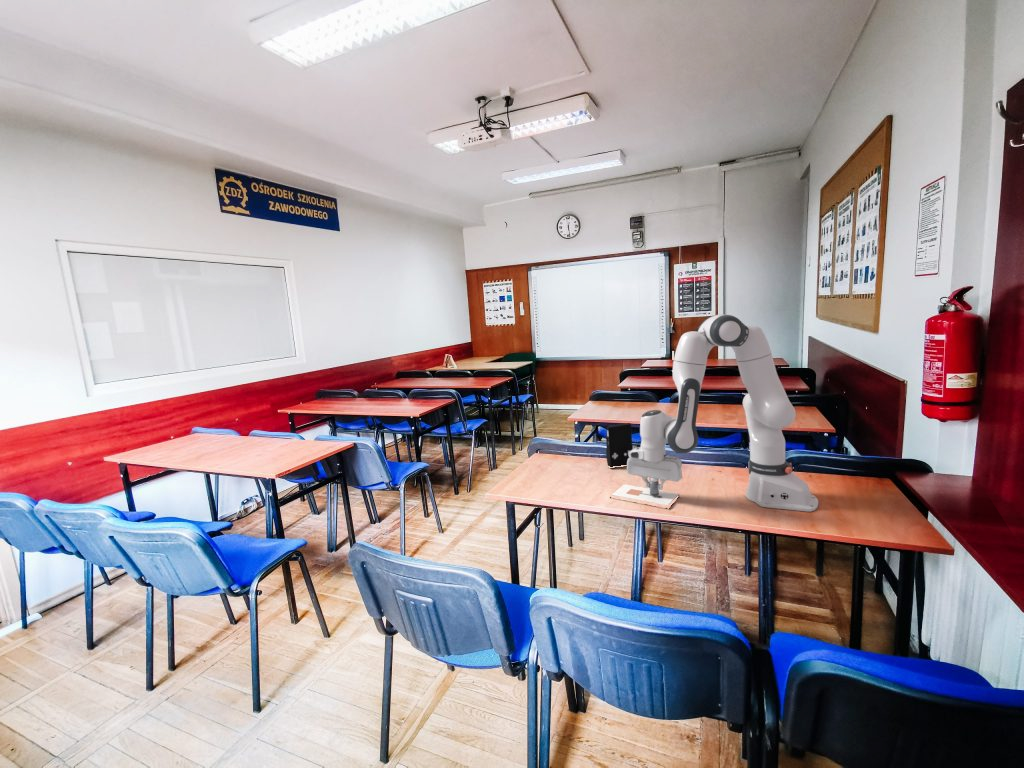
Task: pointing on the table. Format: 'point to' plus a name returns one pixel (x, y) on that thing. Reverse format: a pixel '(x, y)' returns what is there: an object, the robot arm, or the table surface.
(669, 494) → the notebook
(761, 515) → the table surface
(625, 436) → the handheld gaming console
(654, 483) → the white-topped grey cylinder
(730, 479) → the table surface
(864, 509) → the table surface
